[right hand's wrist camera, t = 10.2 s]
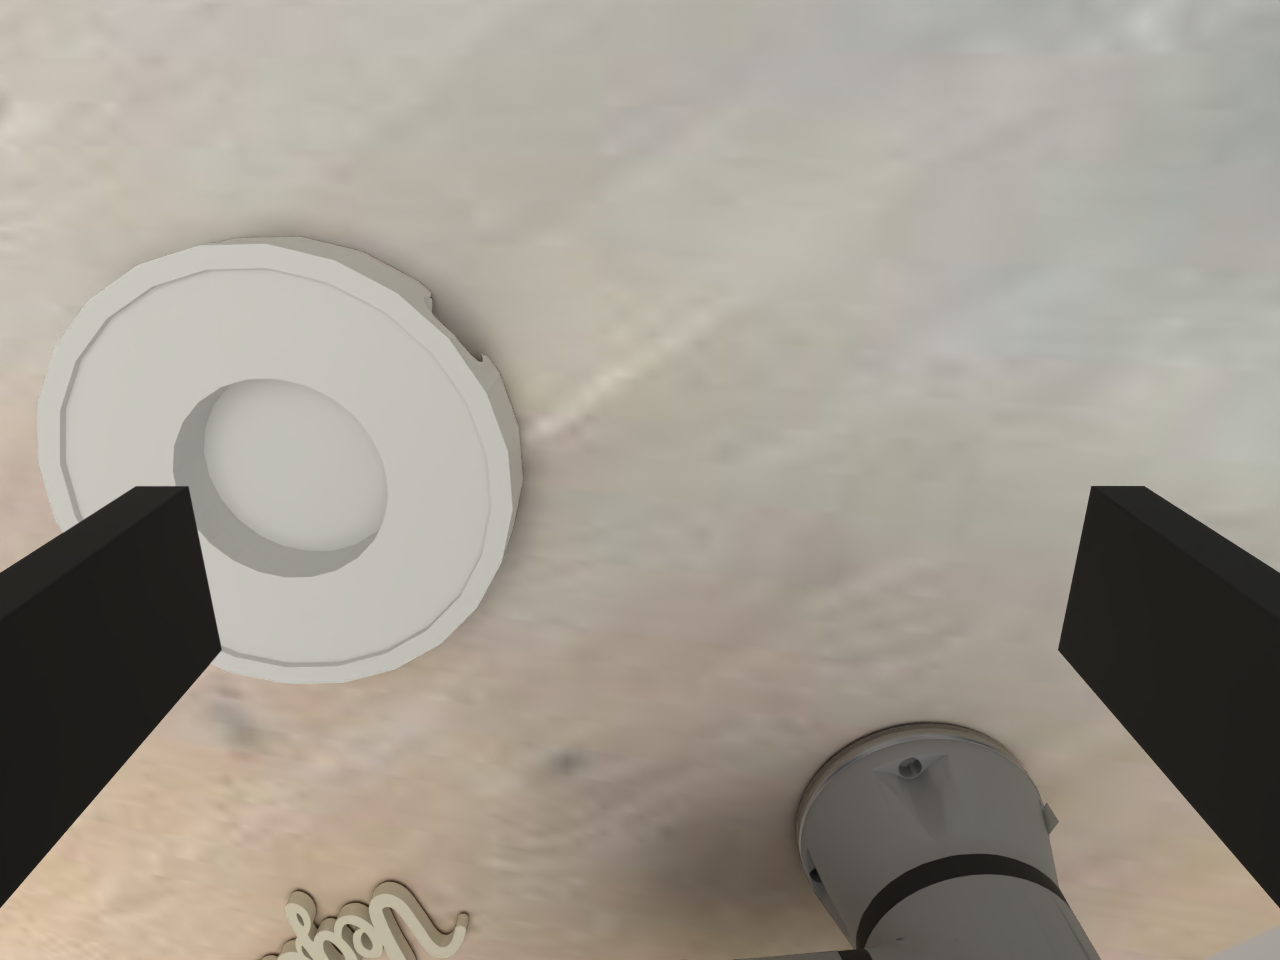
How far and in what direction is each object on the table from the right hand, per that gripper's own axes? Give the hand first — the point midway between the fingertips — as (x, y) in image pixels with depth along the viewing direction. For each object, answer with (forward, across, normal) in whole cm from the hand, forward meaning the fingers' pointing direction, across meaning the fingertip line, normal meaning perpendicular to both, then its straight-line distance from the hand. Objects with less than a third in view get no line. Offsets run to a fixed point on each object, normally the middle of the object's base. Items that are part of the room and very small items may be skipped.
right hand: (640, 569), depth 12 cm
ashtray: (+32, +18, +9) cm, 37 cm away
